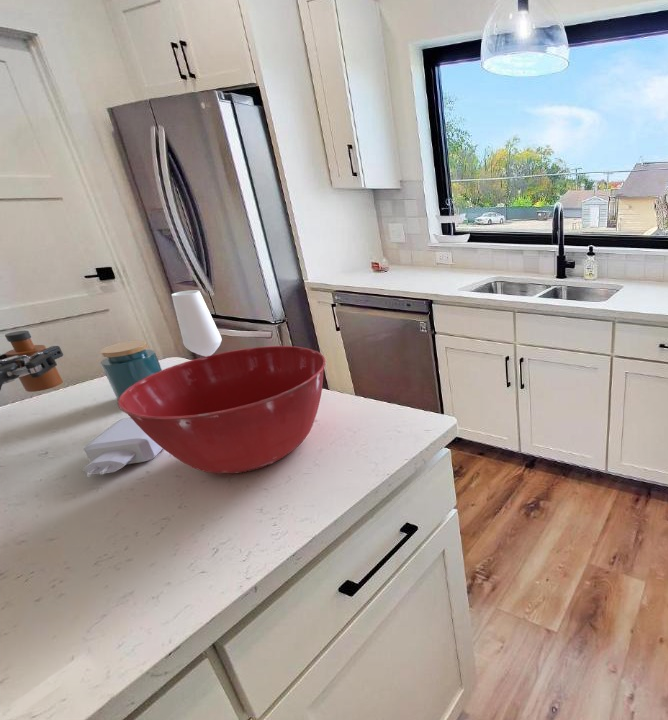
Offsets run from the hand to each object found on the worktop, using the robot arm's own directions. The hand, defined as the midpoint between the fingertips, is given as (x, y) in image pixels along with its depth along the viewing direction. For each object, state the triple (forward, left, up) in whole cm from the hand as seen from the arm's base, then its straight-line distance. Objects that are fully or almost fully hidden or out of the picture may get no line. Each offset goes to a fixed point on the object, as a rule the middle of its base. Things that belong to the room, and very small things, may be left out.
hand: (42, 351), depth 79 cm
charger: (+19, -16, -16) cm, 30 cm away
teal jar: (+5, +11, -16) cm, 20 cm away
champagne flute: (+22, +9, -16) cm, 29 cm away
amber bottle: (0, -3, -6) cm, 7 cm away
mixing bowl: (+41, -17, -16) cm, 47 cm away
